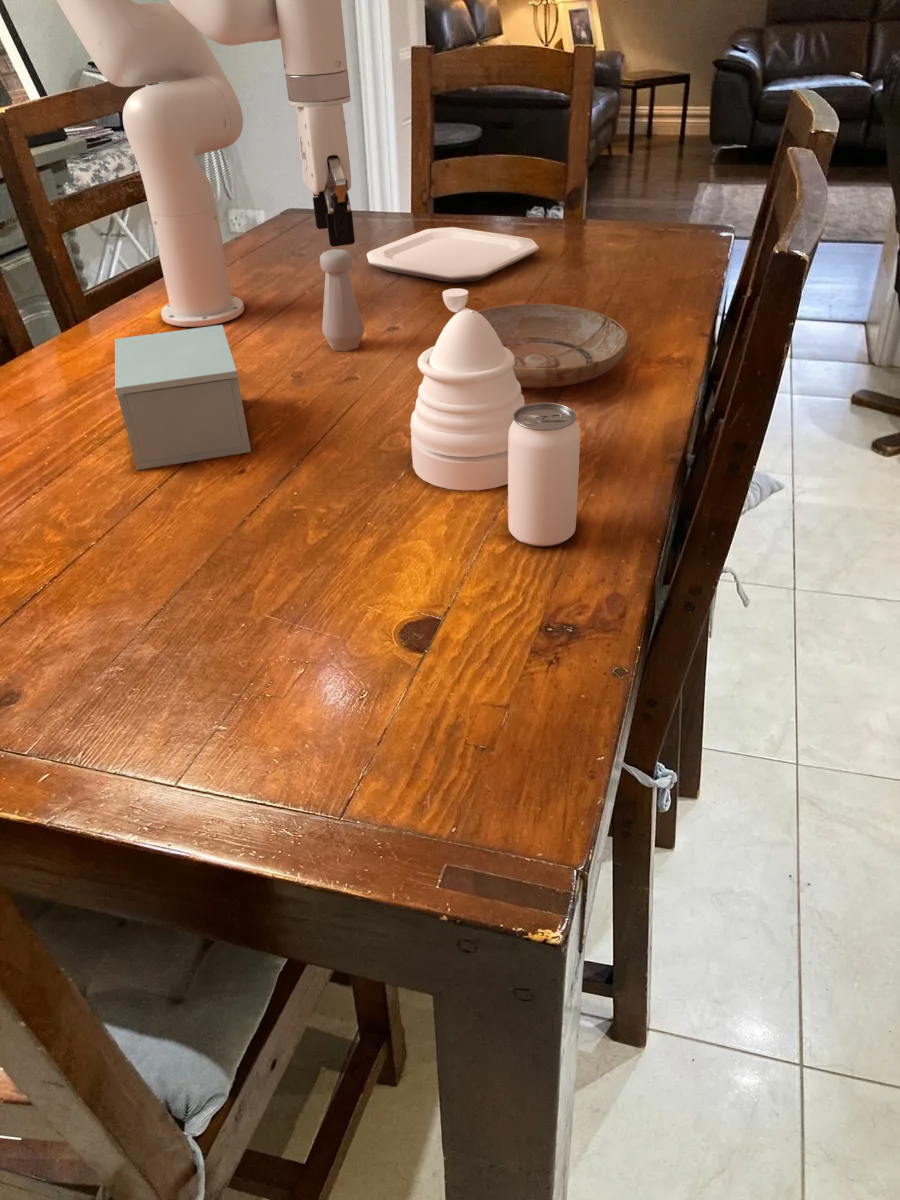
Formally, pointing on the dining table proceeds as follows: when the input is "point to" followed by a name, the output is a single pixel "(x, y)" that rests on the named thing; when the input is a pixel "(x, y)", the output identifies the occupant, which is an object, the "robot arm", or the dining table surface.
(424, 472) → the honey pot
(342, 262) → the salt shaker
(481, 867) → the dining table surface
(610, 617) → the dining table surface
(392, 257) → the plate
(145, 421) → the chest
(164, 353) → the lid
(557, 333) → the ceramic bowl
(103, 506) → the dining table surface
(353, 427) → the dining table surface
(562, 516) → the can
